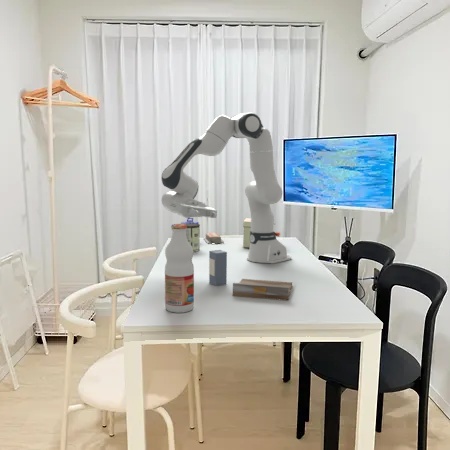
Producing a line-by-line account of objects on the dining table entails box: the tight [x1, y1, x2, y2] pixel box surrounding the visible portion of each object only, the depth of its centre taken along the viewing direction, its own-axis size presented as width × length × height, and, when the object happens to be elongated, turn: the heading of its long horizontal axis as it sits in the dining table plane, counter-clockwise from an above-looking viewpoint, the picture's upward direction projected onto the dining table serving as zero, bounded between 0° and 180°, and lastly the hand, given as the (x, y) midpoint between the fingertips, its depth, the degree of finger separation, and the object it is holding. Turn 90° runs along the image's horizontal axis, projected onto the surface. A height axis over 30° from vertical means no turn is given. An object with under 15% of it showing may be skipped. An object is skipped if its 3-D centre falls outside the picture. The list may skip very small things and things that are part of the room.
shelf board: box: [232, 278, 293, 301], centre depth 164 cm, size 18×20×4 cm
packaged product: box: [203, 231, 225, 245], centre depth 264 cm, size 18×5×10 cm
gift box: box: [242, 217, 251, 249], centre depth 249 cm, size 17×18×17 cm
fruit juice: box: [164, 223, 195, 314], centre depth 142 cm, size 9×9×28 cm
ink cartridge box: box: [180, 217, 200, 224], centre depth 258 cm, size 10×6×14 cm, turn 78°
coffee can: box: [186, 223, 201, 253], centre depth 236 cm, size 10×10×14 cm
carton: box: [208, 249, 228, 287], centre depth 172 cm, size 5×5×13 cm
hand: (207, 214), depth 180 cm, fingers open, 8 cm apart
